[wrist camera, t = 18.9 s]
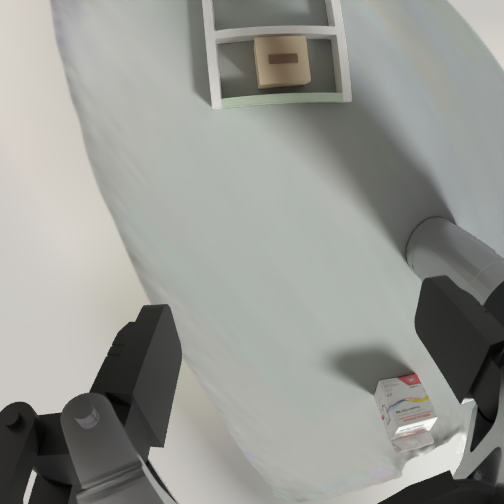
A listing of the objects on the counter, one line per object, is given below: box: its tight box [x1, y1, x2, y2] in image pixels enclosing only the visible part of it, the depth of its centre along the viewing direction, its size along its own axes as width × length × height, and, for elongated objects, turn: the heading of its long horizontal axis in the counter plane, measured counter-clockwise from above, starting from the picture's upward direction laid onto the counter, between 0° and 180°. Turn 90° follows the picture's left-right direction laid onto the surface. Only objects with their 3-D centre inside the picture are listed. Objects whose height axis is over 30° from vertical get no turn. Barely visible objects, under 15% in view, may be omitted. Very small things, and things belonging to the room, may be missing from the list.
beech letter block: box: [254, 36, 311, 89], centre depth 28 cm, size 5×5×5 cm
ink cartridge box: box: [374, 374, 438, 453], centre depth 44 cm, size 9×5×15 cm, turn 92°
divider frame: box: [202, 0, 352, 110], centre depth 25 cm, size 15×25×2 cm, turn 5°
